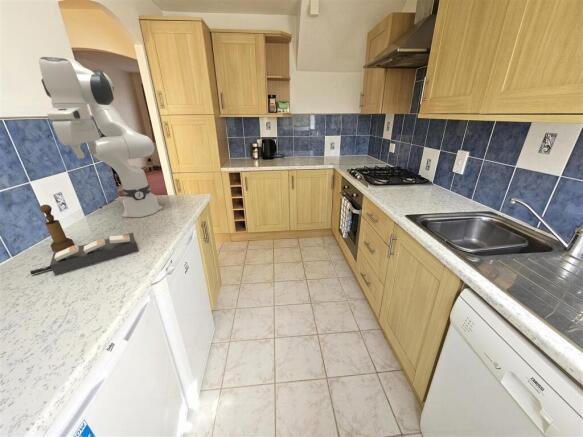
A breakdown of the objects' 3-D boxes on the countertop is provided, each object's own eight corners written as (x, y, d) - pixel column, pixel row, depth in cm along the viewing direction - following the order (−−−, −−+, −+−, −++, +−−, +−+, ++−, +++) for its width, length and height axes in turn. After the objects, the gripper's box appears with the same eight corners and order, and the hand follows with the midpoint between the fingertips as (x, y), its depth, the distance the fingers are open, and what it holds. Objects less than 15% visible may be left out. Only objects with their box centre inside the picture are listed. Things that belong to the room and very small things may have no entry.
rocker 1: (58, 255, 82) (55, 252, 81) (78, 246, 85) (76, 243, 84) (56, 261, 79) (53, 258, 78) (78, 251, 82) (75, 248, 81)
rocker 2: (109, 239, 89) (109, 235, 89) (128, 237, 93) (128, 234, 93) (109, 243, 86) (109, 239, 86) (129, 241, 90) (129, 238, 90)
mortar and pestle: (54, 253, 92) (33, 209, 85) (50, 248, 96) (30, 206, 89) (76, 246, 97) (58, 204, 90) (71, 241, 101) (53, 200, 93)
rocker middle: (86, 248, 86) (83, 245, 85) (104, 240, 89) (102, 237, 88) (85, 253, 83) (83, 250, 82) (105, 244, 86) (102, 241, 85)
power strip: (35, 268, 83) (29, 256, 81) (135, 241, 100) (132, 230, 98) (29, 282, 76) (22, 270, 74) (138, 251, 92) (135, 240, 90)
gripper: (77, 114, 89) (90, 152, 95) (43, 113, 71) (61, 161, 77) (97, 113, 91) (109, 151, 96) (68, 113, 73) (85, 159, 78)
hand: (88, 156), depth 86 cm, fingers open, 8 cm apart
